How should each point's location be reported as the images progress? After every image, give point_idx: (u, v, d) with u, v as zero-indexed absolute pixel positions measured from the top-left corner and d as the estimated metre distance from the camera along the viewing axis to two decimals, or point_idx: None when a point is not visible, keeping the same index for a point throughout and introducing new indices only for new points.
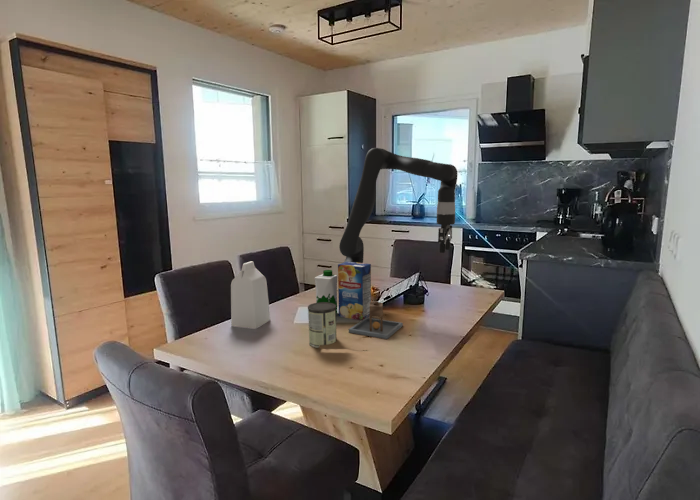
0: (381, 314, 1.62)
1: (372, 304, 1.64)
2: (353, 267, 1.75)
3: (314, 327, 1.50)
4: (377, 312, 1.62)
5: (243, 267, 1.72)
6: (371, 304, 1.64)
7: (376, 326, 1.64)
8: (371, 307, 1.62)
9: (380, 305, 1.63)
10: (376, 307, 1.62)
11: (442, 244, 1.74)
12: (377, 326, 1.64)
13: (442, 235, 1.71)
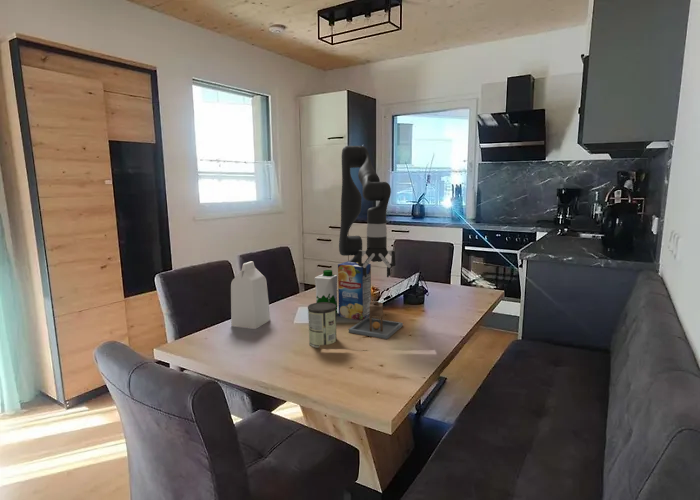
0: (381, 314, 1.62)
1: (372, 304, 1.64)
2: (353, 267, 1.75)
3: (314, 327, 1.50)
4: (377, 312, 1.62)
5: (243, 267, 1.72)
6: (371, 304, 1.64)
7: (376, 326, 1.64)
8: (371, 307, 1.62)
9: (380, 305, 1.63)
10: (376, 307, 1.62)
11: (390, 267, 1.62)
12: (377, 326, 1.64)
13: None
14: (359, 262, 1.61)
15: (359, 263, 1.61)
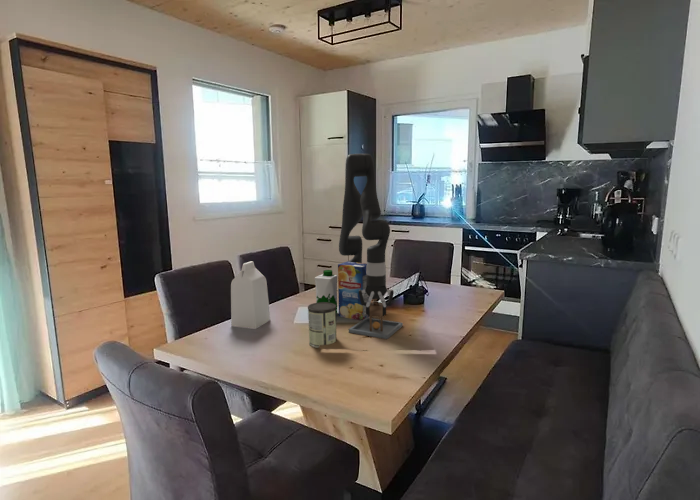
0: (381, 314, 1.62)
1: (372, 304, 1.64)
2: (353, 267, 1.75)
3: (314, 327, 1.50)
4: (377, 312, 1.62)
5: (243, 267, 1.72)
6: (371, 304, 1.64)
7: (376, 326, 1.64)
8: (371, 307, 1.62)
9: (380, 305, 1.63)
10: (376, 307, 1.62)
11: (386, 306, 1.64)
12: (377, 326, 1.64)
13: None
14: (362, 302, 1.63)
15: (362, 302, 1.63)
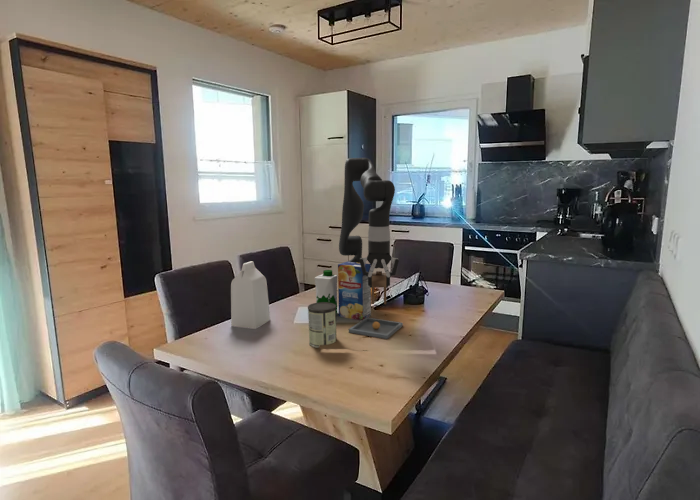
0: (385, 285, 1.45)
1: (374, 274, 1.47)
2: (353, 267, 1.75)
3: (314, 327, 1.50)
4: (380, 283, 1.45)
5: (243, 267, 1.72)
6: (373, 274, 1.47)
7: (376, 326, 1.64)
8: (373, 277, 1.45)
9: (383, 275, 1.46)
10: (379, 277, 1.45)
11: None
12: (377, 326, 1.64)
13: None
14: (364, 271, 1.46)
15: (364, 272, 1.46)
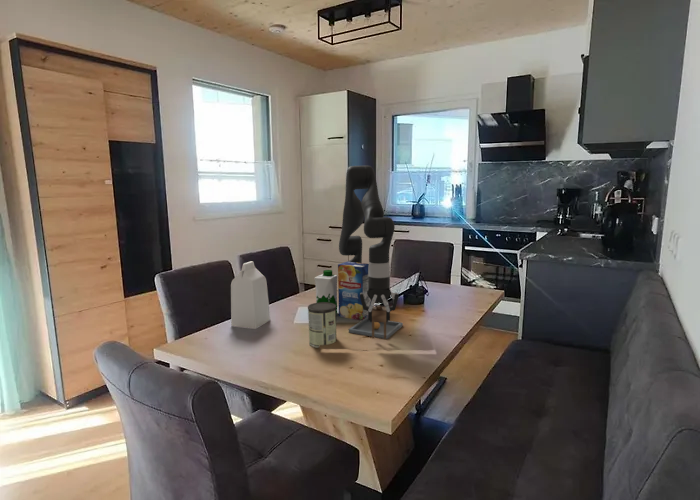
0: (385, 320, 1.47)
1: (375, 309, 1.49)
2: (353, 267, 1.75)
3: (314, 327, 1.50)
4: (380, 318, 1.47)
5: (243, 267, 1.72)
6: (373, 309, 1.49)
7: (376, 326, 1.64)
8: (373, 312, 1.47)
9: (383, 310, 1.48)
10: (379, 312, 1.47)
11: None
12: (377, 326, 1.64)
13: None
14: (364, 306, 1.48)
15: (364, 307, 1.48)
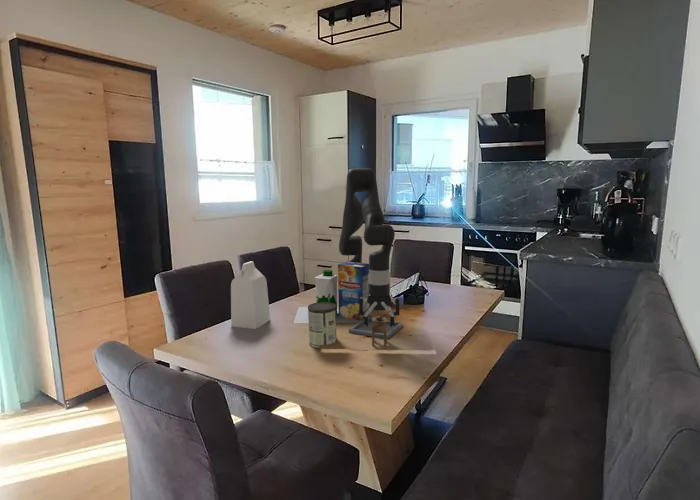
0: (385, 330, 1.48)
1: (375, 319, 1.50)
2: (353, 267, 1.75)
3: (314, 327, 1.50)
4: (380, 329, 1.48)
5: (243, 267, 1.72)
6: (374, 319, 1.50)
7: None
8: (374, 323, 1.48)
9: (383, 320, 1.49)
10: (379, 323, 1.48)
11: None
12: None
13: None
14: (360, 311, 1.49)
15: (360, 312, 1.49)
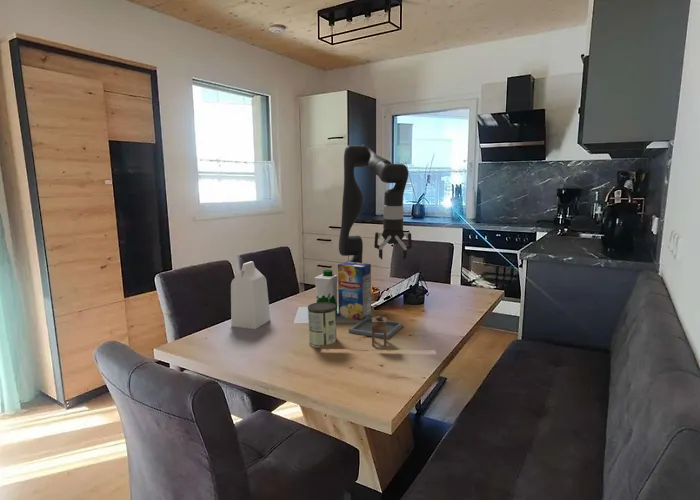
0: (385, 330, 1.48)
1: (375, 319, 1.50)
2: (353, 267, 1.75)
3: (314, 327, 1.50)
4: (380, 329, 1.48)
5: (243, 267, 1.72)
6: (374, 319, 1.50)
7: None
8: (374, 323, 1.48)
9: (383, 320, 1.49)
10: (379, 323, 1.48)
11: (406, 250, 1.63)
12: None
13: None
14: (376, 244, 1.62)
15: (375, 245, 1.62)
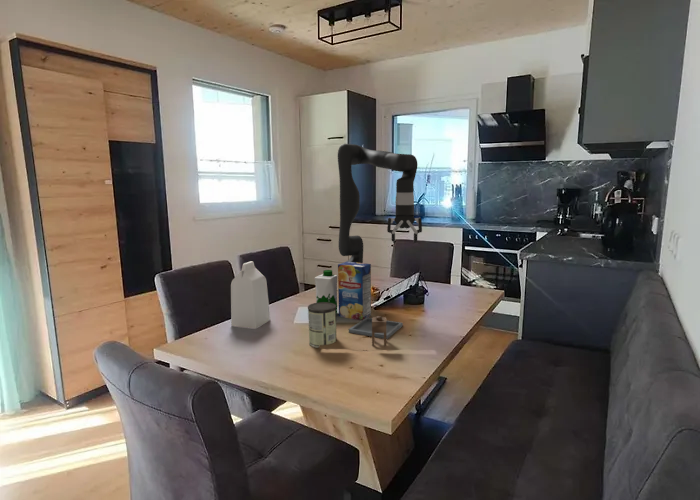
0: (385, 330, 1.48)
1: (375, 319, 1.50)
2: (353, 267, 1.75)
3: (314, 327, 1.50)
4: (380, 329, 1.48)
5: (243, 267, 1.72)
6: (374, 319, 1.50)
7: None
8: (374, 323, 1.48)
9: (383, 320, 1.49)
10: (379, 323, 1.48)
11: None
12: None
13: None
14: (389, 229, 1.75)
15: (388, 229, 1.75)
